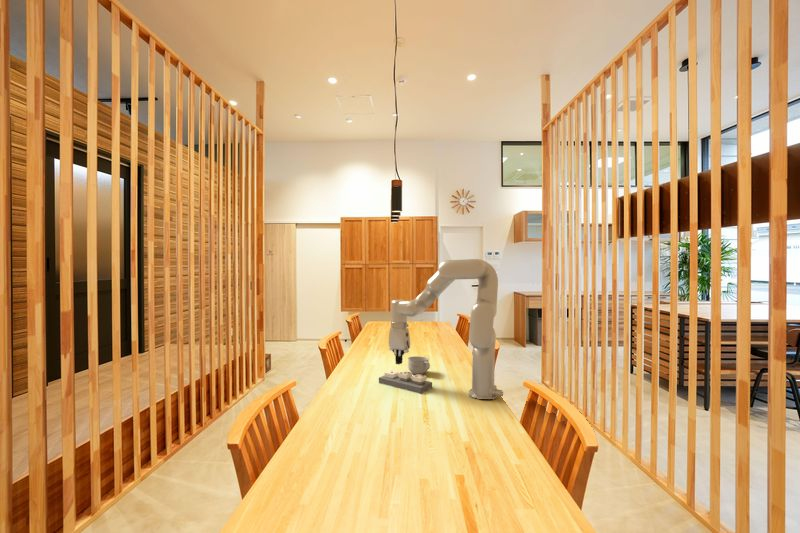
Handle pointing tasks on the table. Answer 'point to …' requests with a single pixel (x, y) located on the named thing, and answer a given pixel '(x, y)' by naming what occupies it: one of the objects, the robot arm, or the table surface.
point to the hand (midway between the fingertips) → (398, 363)
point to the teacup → (418, 364)
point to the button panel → (405, 384)
